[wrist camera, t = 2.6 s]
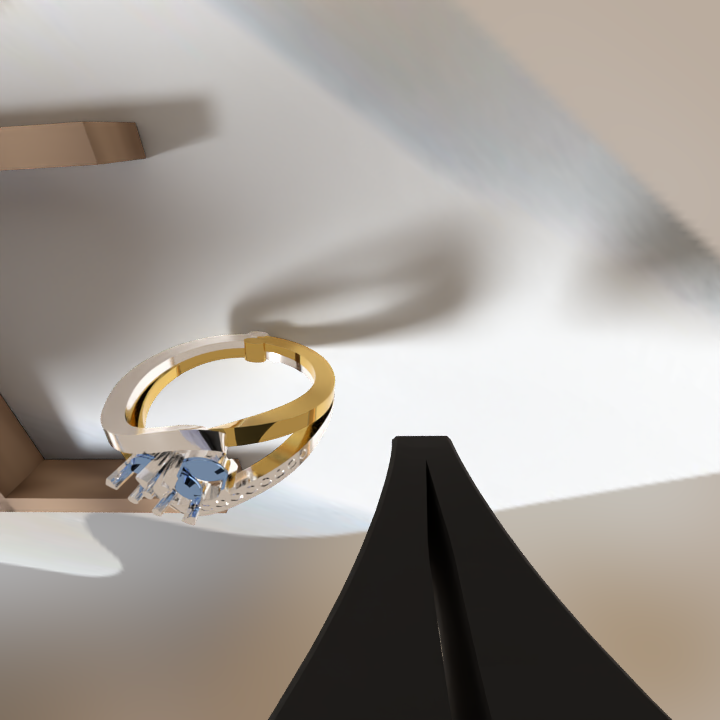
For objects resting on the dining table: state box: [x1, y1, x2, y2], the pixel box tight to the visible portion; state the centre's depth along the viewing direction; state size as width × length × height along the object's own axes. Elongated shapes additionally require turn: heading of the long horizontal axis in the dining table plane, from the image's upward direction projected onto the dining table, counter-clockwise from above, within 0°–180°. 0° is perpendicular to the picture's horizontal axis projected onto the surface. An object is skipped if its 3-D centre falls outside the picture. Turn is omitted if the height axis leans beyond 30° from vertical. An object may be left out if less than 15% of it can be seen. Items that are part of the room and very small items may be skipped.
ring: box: [100, 331, 335, 525], centre depth 13 cm, size 7×3×8 cm, turn 85°
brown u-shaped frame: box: [0, 122, 242, 513], centre depth 15 cm, size 12×16×2 cm
